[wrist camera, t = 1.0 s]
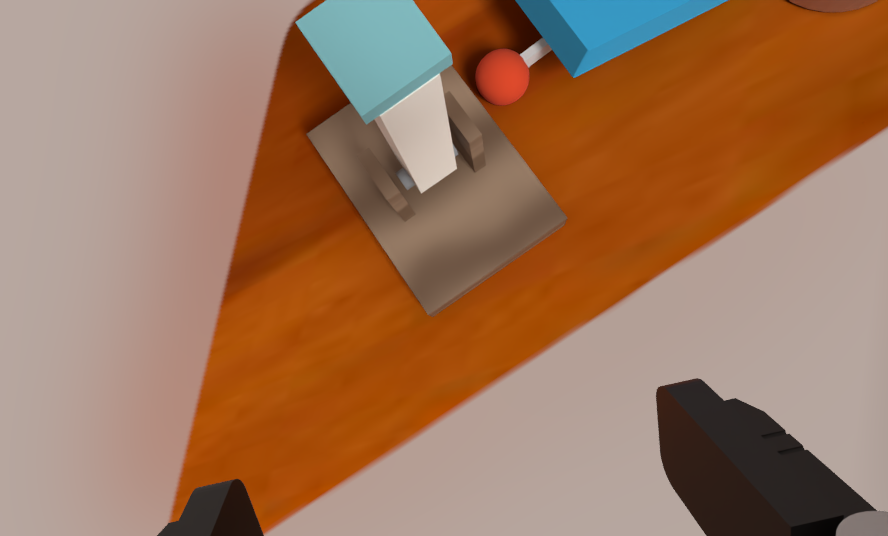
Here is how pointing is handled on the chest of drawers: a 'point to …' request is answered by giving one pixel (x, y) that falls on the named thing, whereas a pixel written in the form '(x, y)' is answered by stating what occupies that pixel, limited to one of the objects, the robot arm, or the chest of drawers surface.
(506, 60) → the lever
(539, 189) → the catapult stand
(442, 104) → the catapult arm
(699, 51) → the chest of drawers surface
